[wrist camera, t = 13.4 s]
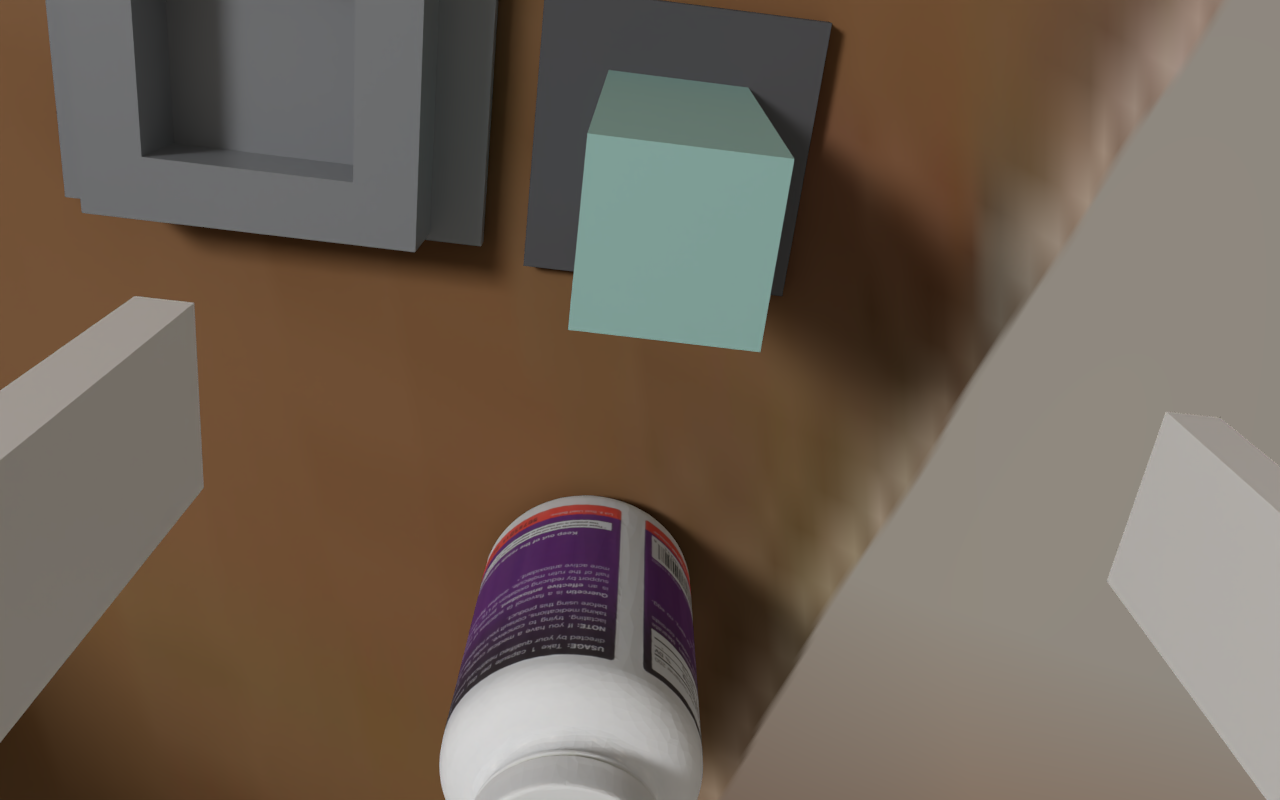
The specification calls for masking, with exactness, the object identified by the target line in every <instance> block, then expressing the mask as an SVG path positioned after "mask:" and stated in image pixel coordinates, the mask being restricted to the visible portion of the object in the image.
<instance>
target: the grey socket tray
mask: <svg viewBox="0 0 1280 800" xmlns="http://www.w3.org/2000/svg"><path fill="white" fill-rule="evenodd" d="M46 9H47V19H48V29H49V39H50V49H51V59H52V69H53V79H54V89H55V99H56V109H57V119H58V129H59V139H60V149H61V159H62V169H63V179H64V189H65V197H71V198H79V199H81V209H82V213H88V214H97V215H105V216H114V217H122V218H130V219H139V220H147V221H156V222H164V223H173V224H181V225H189V226H198V227H206V228H215V229H223V230H232V231H240V232H248V233H257V234H265V235H274V236H282V237H291V238H299V239H307V240H316V241H324V242H333V243H341V244H350V245H358V246H366V247H375V248H383V249H392V250H400V251H409V252H416V251H417V249H418V248H419V247H420V245H421V244H422V243H423V242H424V240H432V241H440V242H449V243H457V244H465V245H474V246H481V245H482V243H483V241H484V225H485V209H486V193H487V177H488V160H489V144H490V128H491V112H492V96H493V79H494V63H495V47H496V31H497V15H498V0H46Z"/></svg>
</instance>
